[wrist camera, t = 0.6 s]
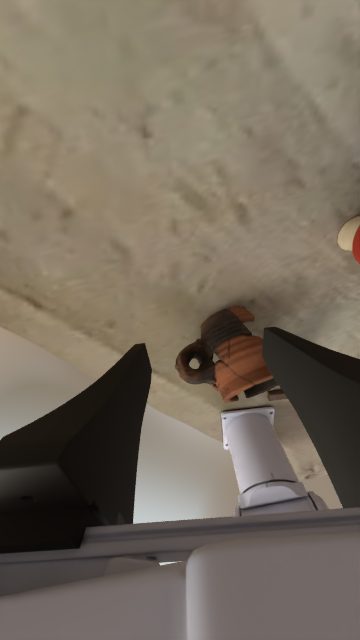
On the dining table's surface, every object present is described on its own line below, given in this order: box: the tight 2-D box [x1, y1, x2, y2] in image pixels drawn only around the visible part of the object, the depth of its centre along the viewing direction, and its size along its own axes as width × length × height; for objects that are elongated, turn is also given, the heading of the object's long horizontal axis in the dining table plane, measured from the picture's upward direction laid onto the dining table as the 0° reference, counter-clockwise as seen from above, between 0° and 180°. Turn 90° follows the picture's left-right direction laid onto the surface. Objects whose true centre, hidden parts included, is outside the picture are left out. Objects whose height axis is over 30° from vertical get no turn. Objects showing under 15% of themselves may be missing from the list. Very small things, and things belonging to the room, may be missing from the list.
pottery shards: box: [175, 307, 278, 402], centre depth 21 cm, size 12×10×8 cm
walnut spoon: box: [268, 390, 288, 401], centre depth 26 cm, size 4×14×1 cm, turn 99°
